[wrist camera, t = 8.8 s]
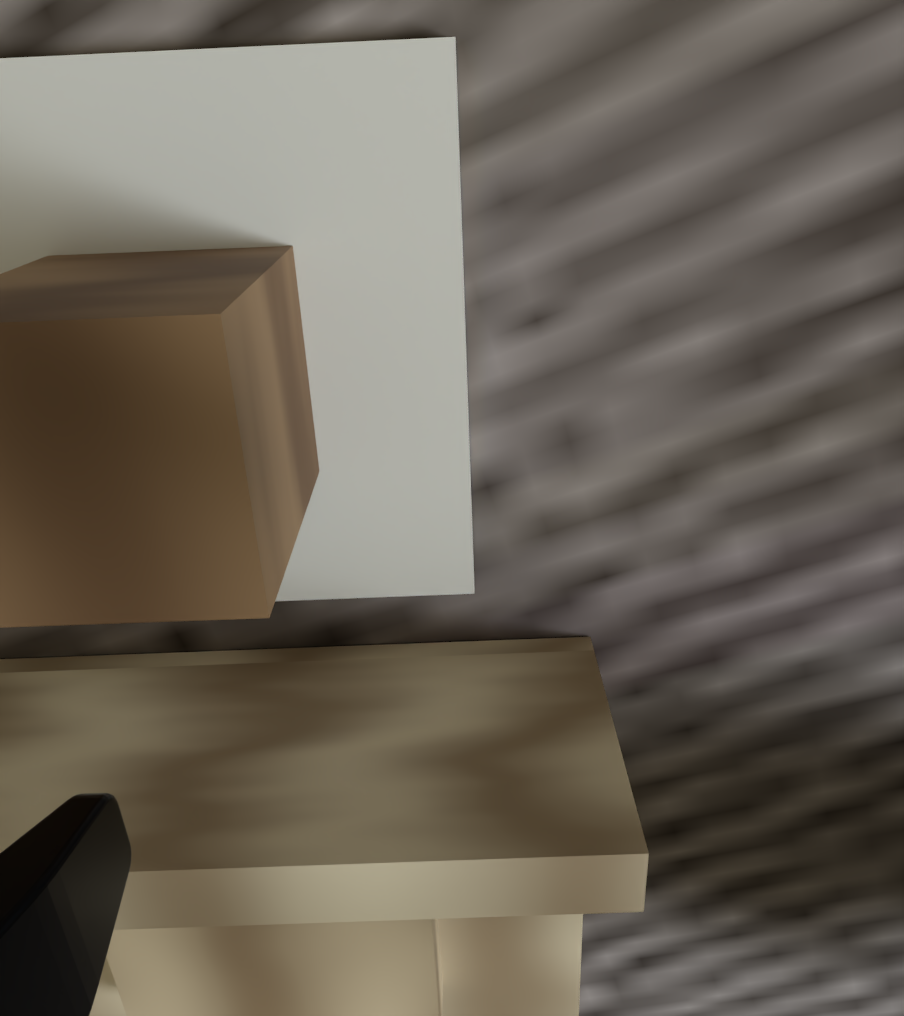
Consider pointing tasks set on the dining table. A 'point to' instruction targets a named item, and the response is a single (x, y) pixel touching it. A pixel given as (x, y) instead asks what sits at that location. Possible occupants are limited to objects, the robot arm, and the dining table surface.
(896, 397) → the dining table surface
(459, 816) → the slot box
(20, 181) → the grey mat
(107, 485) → the walnut block
